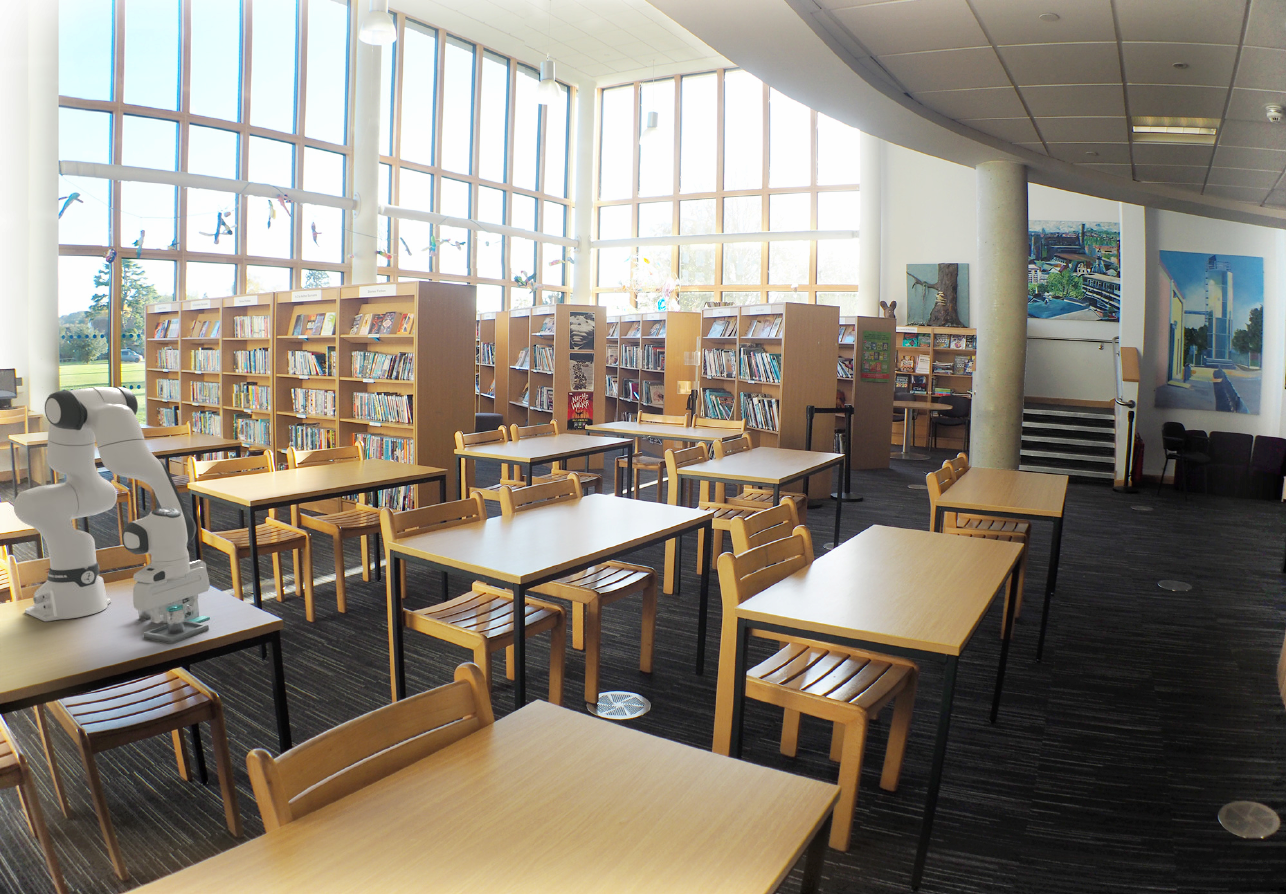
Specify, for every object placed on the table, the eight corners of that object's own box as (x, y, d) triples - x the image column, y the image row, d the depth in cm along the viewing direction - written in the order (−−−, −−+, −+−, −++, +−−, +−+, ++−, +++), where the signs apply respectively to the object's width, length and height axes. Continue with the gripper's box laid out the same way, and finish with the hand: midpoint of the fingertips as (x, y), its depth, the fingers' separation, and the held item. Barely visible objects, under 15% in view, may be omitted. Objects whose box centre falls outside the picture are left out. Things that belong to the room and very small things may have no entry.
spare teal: (175, 635, 213) (172, 610, 212) (164, 633, 214) (162, 608, 213) (188, 630, 217) (186, 605, 216) (178, 628, 218) (176, 604, 217)
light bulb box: (200, 616, 230) (197, 580, 228) (184, 624, 223) (181, 587, 222) (166, 614, 231) (163, 579, 229) (149, 623, 224) (146, 586, 223)
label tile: (186, 623, 224) (186, 621, 224) (202, 617, 228) (202, 615, 228) (194, 624, 223) (194, 622, 223) (209, 618, 227) (209, 616, 227)
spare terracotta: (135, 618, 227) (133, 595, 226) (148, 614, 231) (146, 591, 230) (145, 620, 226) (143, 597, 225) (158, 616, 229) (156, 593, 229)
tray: (143, 638, 212) (143, 632, 212) (180, 624, 223) (180, 619, 222) (172, 643, 208) (171, 638, 208) (208, 629, 218) (208, 624, 218)
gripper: (197, 557, 224) (200, 603, 226) (127, 576, 205) (131, 627, 207) (213, 559, 221) (216, 606, 223) (143, 579, 203) (148, 630, 204)
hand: (175, 616), depth 215 cm, fingers open, 8 cm apart
